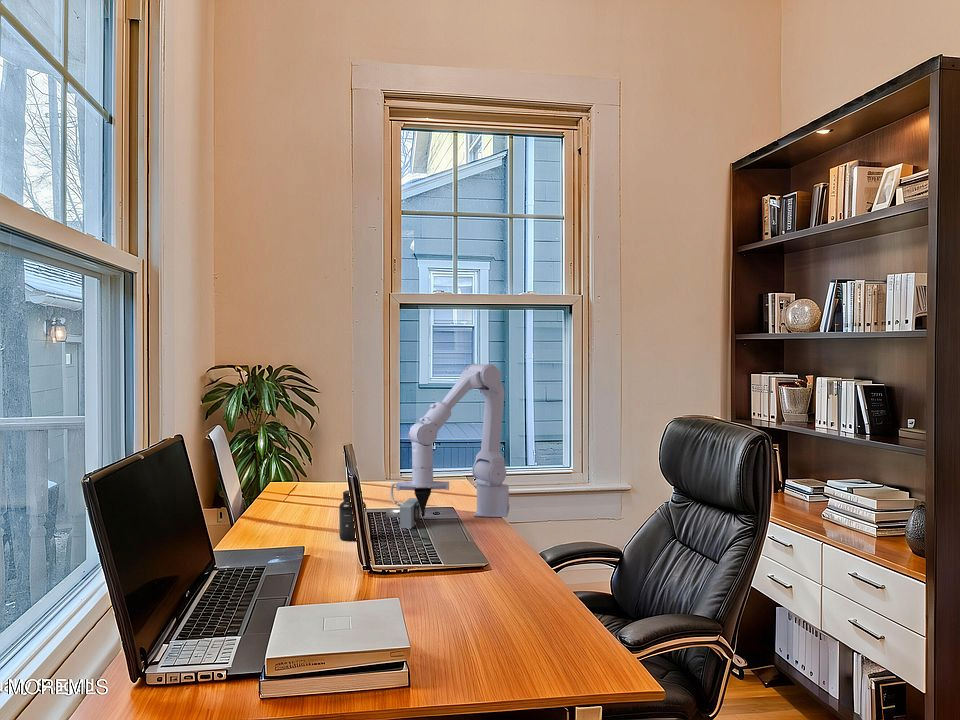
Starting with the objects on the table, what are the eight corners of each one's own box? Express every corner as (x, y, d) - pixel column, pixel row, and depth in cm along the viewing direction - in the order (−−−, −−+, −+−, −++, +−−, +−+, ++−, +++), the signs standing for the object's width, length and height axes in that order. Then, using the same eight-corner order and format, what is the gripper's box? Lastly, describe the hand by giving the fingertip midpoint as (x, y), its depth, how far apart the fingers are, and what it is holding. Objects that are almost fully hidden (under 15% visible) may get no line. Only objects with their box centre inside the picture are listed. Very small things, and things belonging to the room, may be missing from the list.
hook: (404, 499, 235) (428, 522, 217) (376, 502, 231) (398, 525, 213) (405, 477, 234) (429, 498, 216) (377, 480, 229) (399, 501, 212)
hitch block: (419, 519, 208) (419, 498, 208) (410, 529, 196) (410, 507, 196) (409, 518, 209) (409, 497, 209) (399, 529, 197) (399, 507, 197)
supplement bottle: (333, 539, 187) (333, 492, 186) (350, 533, 193) (350, 488, 193) (355, 542, 184) (355, 495, 183) (371, 536, 190) (371, 490, 189)
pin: (420, 519, 205) (420, 503, 204) (417, 523, 200) (417, 507, 200) (389, 519, 206) (389, 502, 206) (385, 522, 201) (385, 506, 201)
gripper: (448, 464, 206) (449, 512, 206) (397, 464, 205) (397, 512, 206) (448, 468, 199) (449, 517, 199) (395, 468, 198) (395, 518, 199)
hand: (422, 515), depth 202 cm, fingers closed
